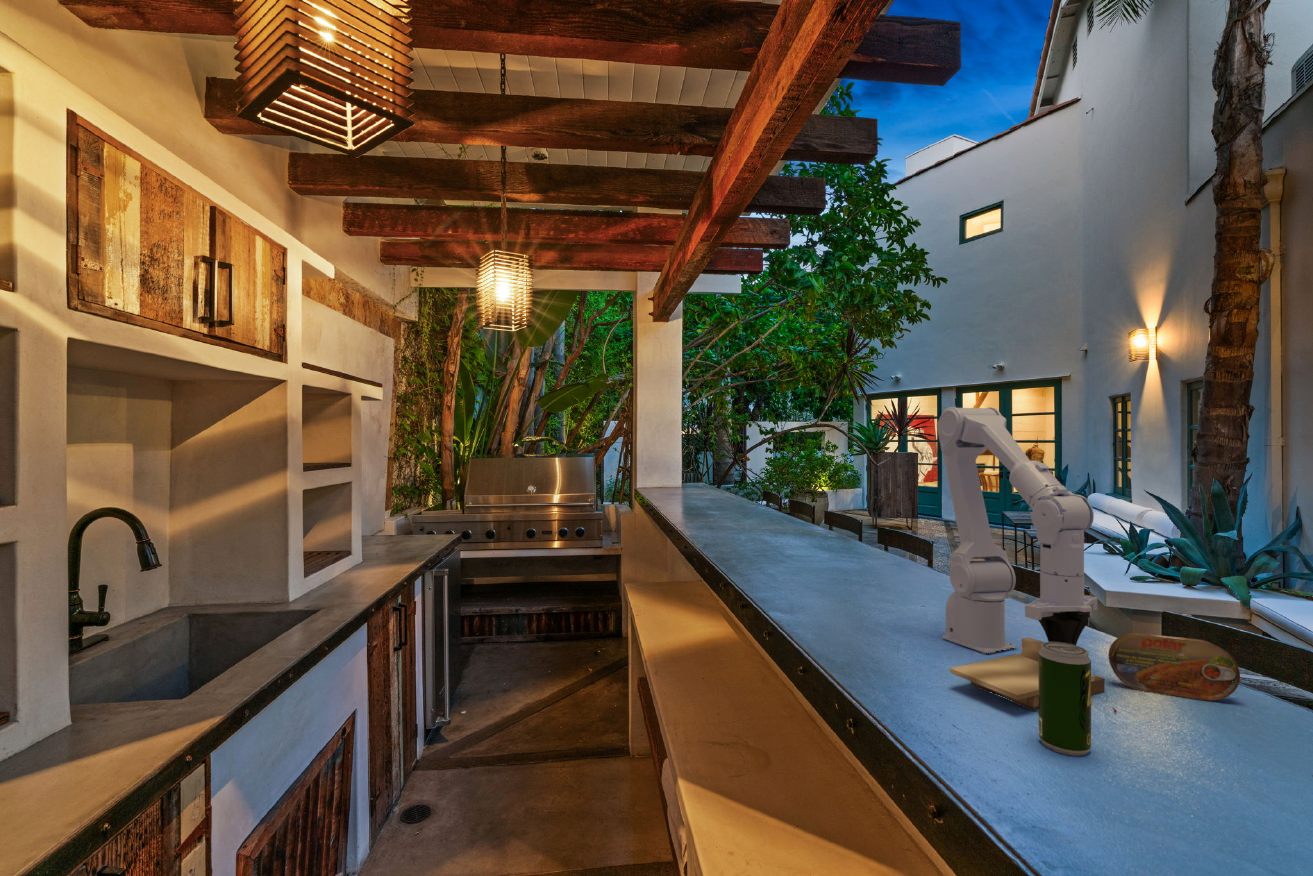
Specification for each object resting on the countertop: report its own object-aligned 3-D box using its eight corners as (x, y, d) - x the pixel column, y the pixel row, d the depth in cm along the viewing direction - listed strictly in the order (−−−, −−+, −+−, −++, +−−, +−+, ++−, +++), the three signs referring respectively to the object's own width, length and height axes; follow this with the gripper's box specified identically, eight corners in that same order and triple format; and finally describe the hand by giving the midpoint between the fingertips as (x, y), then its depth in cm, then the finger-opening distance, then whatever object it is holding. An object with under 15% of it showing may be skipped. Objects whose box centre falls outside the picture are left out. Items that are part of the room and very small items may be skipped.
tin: (1110, 687, 93) (1110, 631, 93) (1106, 679, 96) (1106, 626, 96) (1241, 707, 86) (1241, 647, 86) (1233, 698, 89) (1232, 640, 89)
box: (970, 684, 94) (970, 671, 94) (1039, 669, 100) (1038, 657, 100) (1033, 710, 84) (1033, 696, 84) (1104, 691, 91) (1104, 678, 91)
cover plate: (949, 672, 92) (949, 649, 92) (1023, 657, 99) (1023, 635, 99) (1017, 700, 83) (1017, 674, 83) (1094, 680, 89) (1094, 656, 89)
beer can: (1046, 753, 73) (1045, 653, 73) (1033, 733, 78) (1032, 639, 78) (1098, 760, 71) (1098, 658, 71) (1081, 739, 76) (1081, 643, 77)
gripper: (1057, 582, 88) (1057, 676, 88) (1118, 573, 94) (1118, 661, 94) (1011, 572, 95) (1012, 660, 95) (1071, 565, 101) (1071, 647, 100)
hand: (1062, 660), depth 95 cm, fingers closed
